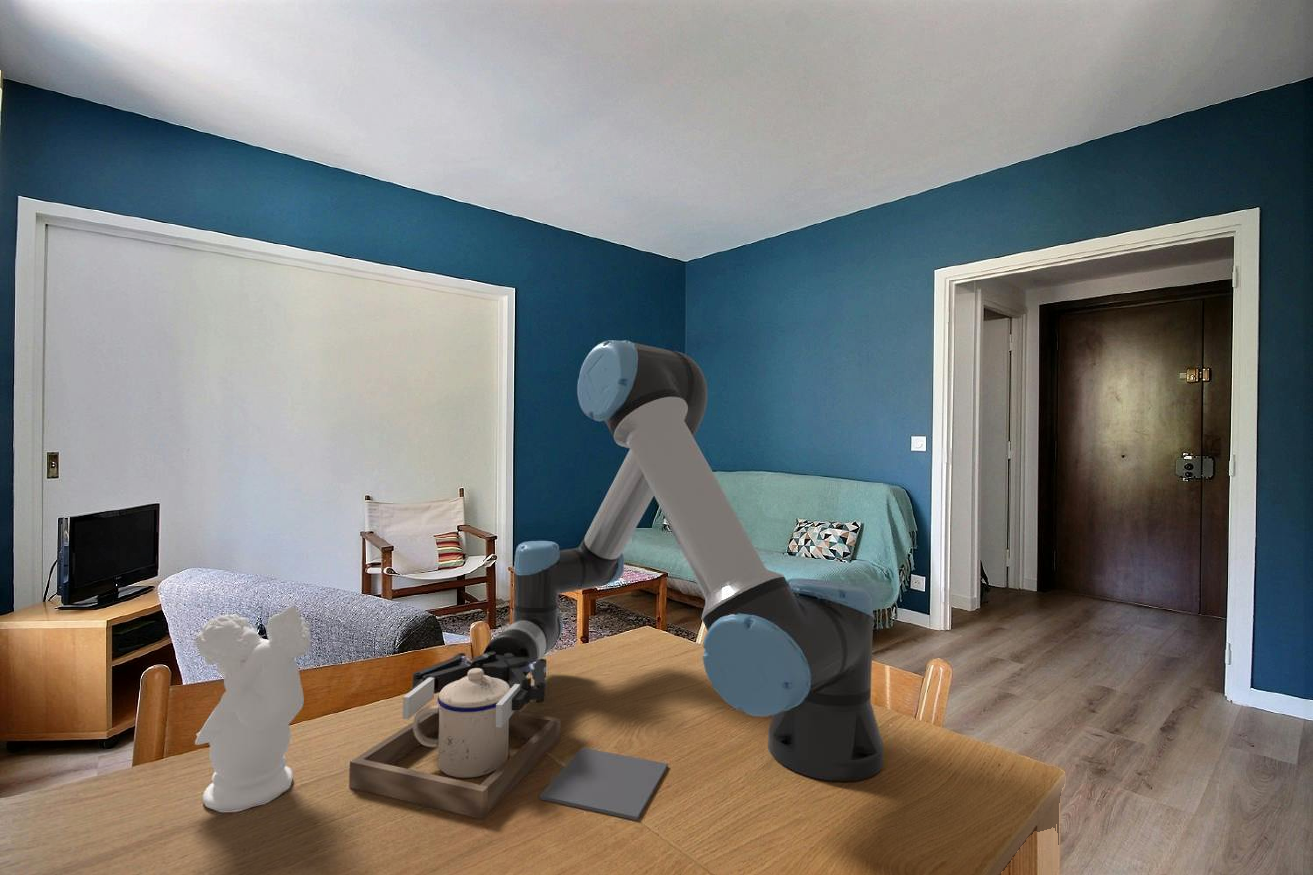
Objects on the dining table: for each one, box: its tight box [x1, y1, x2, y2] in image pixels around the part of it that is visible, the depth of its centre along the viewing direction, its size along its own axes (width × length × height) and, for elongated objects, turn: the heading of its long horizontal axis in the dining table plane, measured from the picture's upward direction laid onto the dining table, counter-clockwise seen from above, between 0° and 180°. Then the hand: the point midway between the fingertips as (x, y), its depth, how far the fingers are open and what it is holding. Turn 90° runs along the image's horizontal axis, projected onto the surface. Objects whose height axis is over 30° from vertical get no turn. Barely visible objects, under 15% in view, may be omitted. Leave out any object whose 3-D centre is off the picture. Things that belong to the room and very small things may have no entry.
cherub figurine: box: [194, 603, 312, 813], centre depth 73 cm, size 12×12×22 cm
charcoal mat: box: [538, 747, 669, 821], centre depth 75 cm, size 12×12×1 cm
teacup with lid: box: [412, 668, 511, 779], centre depth 79 cm, size 12×9×12 cm
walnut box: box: [348, 710, 561, 820], centre depth 79 cm, size 18×19×3 cm
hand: (451, 712), depth 75 cm, fingers closed on teacup with lid, 11 cm apart
